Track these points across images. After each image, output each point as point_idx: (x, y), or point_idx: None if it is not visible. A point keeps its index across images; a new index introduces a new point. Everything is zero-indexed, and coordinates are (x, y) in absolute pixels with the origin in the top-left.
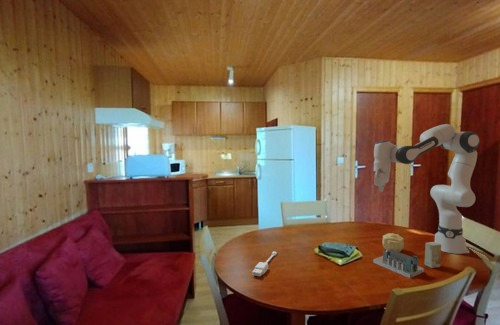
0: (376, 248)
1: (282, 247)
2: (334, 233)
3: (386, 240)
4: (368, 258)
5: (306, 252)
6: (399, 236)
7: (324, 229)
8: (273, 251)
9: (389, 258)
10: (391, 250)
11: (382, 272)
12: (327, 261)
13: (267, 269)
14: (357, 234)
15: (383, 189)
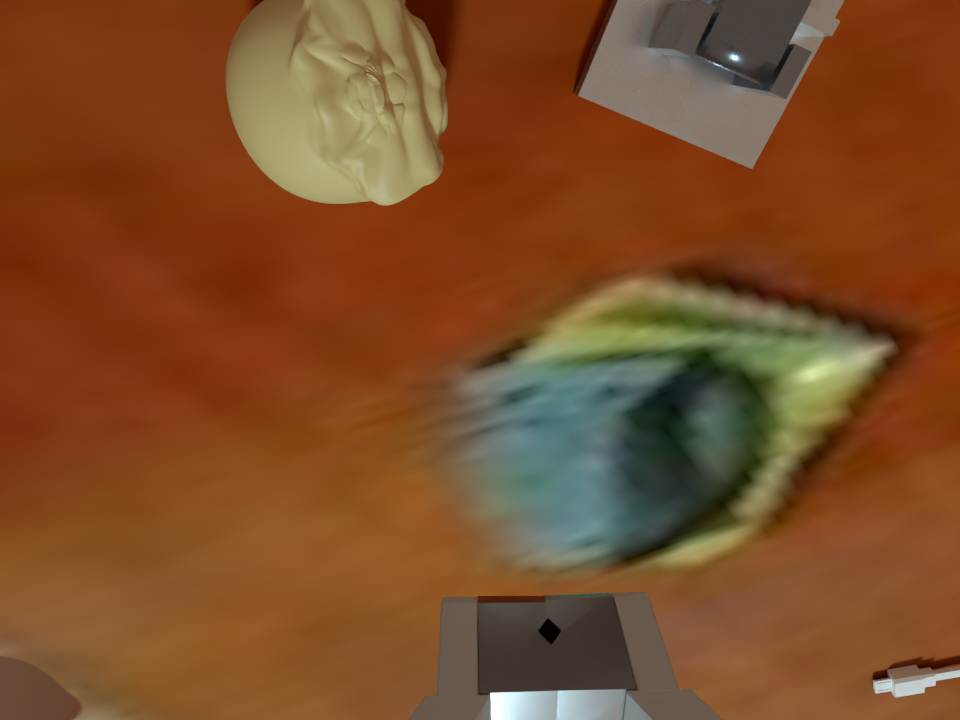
0: (403, 227)
1: (771, 692)
2: (294, 581)
3: (437, 148)
4: (671, 219)
5: (781, 572)
6: (329, 22)
7: (262, 658)
8: (898, 696)
9: (825, 19)
10: (738, 24)
11: (905, 47)
12: (870, 427)
13: None
14: (173, 450)
15: (521, 656)
